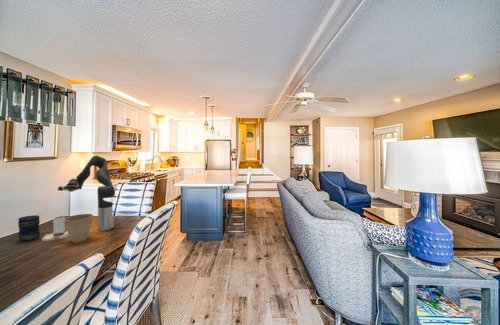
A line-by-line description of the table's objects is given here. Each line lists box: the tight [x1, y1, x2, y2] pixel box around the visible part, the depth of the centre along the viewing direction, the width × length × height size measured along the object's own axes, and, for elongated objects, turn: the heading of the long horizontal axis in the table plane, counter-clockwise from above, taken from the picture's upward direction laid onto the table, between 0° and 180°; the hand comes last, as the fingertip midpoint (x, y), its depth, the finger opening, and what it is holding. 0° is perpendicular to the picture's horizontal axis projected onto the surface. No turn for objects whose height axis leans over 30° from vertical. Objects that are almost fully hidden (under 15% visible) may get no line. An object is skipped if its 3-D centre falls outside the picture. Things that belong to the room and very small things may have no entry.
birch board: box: [41, 231, 70, 242], centre depth 146 cm, size 16×10×2 cm, turn 122°
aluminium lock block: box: [52, 215, 66, 237], centre depth 146 cm, size 5×6×12 cm
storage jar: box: [17, 214, 41, 243], centre depth 140 cm, size 10×10×15 cm
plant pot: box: [64, 213, 94, 243], centre depth 140 cm, size 15×15×16 cm
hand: (68, 189), depth 164 cm, fingers open, 8 cm apart
